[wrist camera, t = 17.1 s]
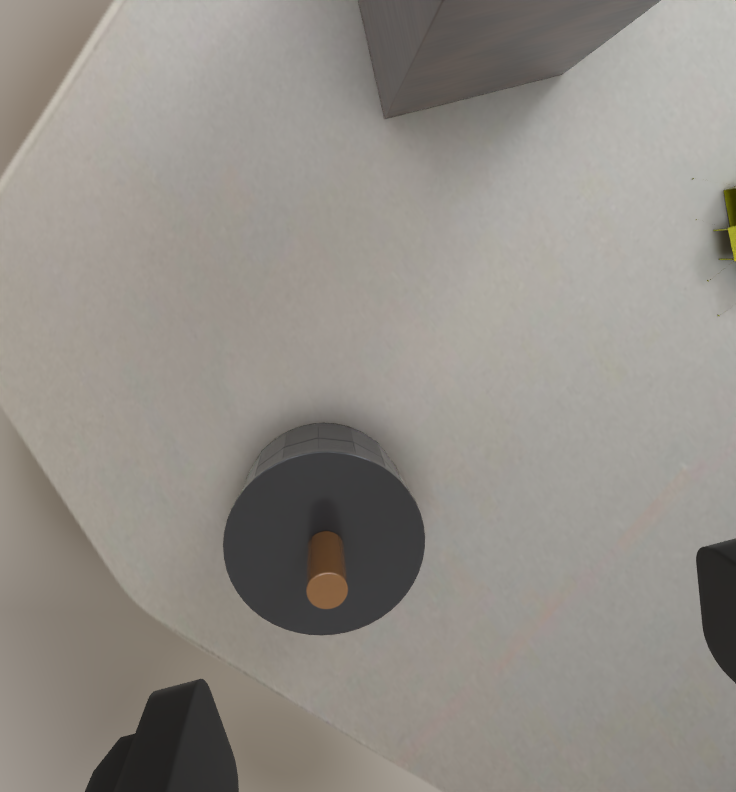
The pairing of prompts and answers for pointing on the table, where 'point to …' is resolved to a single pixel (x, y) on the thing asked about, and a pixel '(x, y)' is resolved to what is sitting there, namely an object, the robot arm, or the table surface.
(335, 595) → the lid
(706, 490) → the table surface
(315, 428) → the pot
